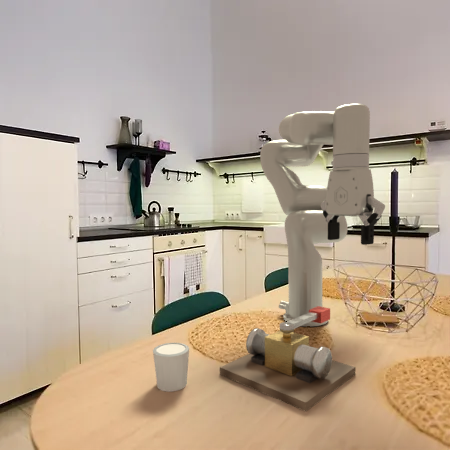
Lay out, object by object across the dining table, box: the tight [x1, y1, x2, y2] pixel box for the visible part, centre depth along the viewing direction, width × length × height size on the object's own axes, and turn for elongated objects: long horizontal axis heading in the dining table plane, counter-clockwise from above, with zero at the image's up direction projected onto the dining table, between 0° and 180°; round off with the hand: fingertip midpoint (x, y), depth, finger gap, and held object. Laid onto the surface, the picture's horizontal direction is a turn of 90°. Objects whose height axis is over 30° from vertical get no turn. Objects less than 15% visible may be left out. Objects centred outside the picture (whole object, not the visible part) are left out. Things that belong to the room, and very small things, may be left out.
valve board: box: [219, 353, 356, 412], centre depth 77 cm, size 20×18×2 cm
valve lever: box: [279, 306, 331, 333], centre depth 81 cm, size 3×16×2 cm, turn 136°
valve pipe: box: [245, 327, 333, 383], centre depth 76 cm, size 17×6×7 cm, turn 46°
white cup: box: [152, 342, 190, 393], centre depth 73 cm, size 7×7×7 cm
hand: (349, 241), depth 85 cm, fingers open, 9 cm apart
